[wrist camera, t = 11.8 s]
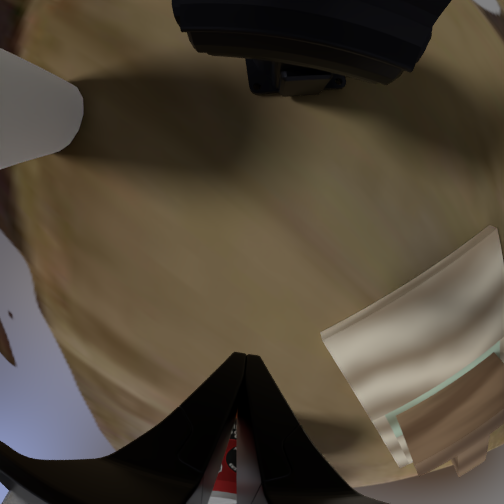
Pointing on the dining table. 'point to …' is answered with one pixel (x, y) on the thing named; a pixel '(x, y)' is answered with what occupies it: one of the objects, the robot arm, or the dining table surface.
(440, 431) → the t block
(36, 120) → the foam cup
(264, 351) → the dining table surface
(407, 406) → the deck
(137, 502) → the robot arm
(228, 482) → the canned food
